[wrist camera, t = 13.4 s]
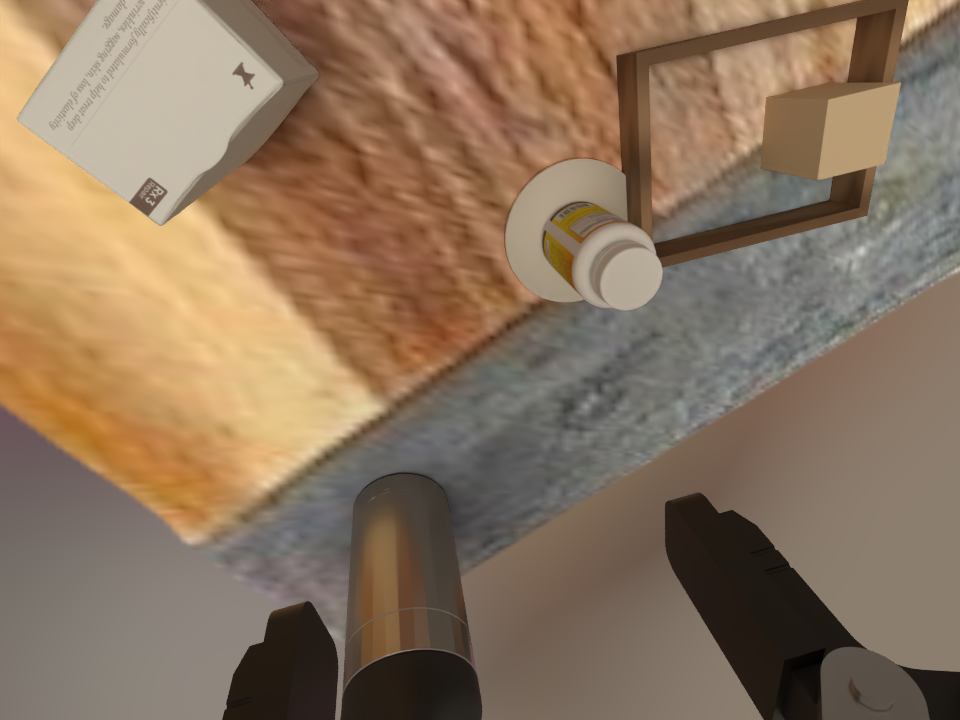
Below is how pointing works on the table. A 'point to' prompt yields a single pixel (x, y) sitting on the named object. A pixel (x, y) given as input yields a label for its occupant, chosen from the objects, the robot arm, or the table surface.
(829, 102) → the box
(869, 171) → the wooden frame
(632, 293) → the supplement bottle
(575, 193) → the coaster
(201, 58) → the skincare box
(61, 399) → the table surface
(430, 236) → the table surface
